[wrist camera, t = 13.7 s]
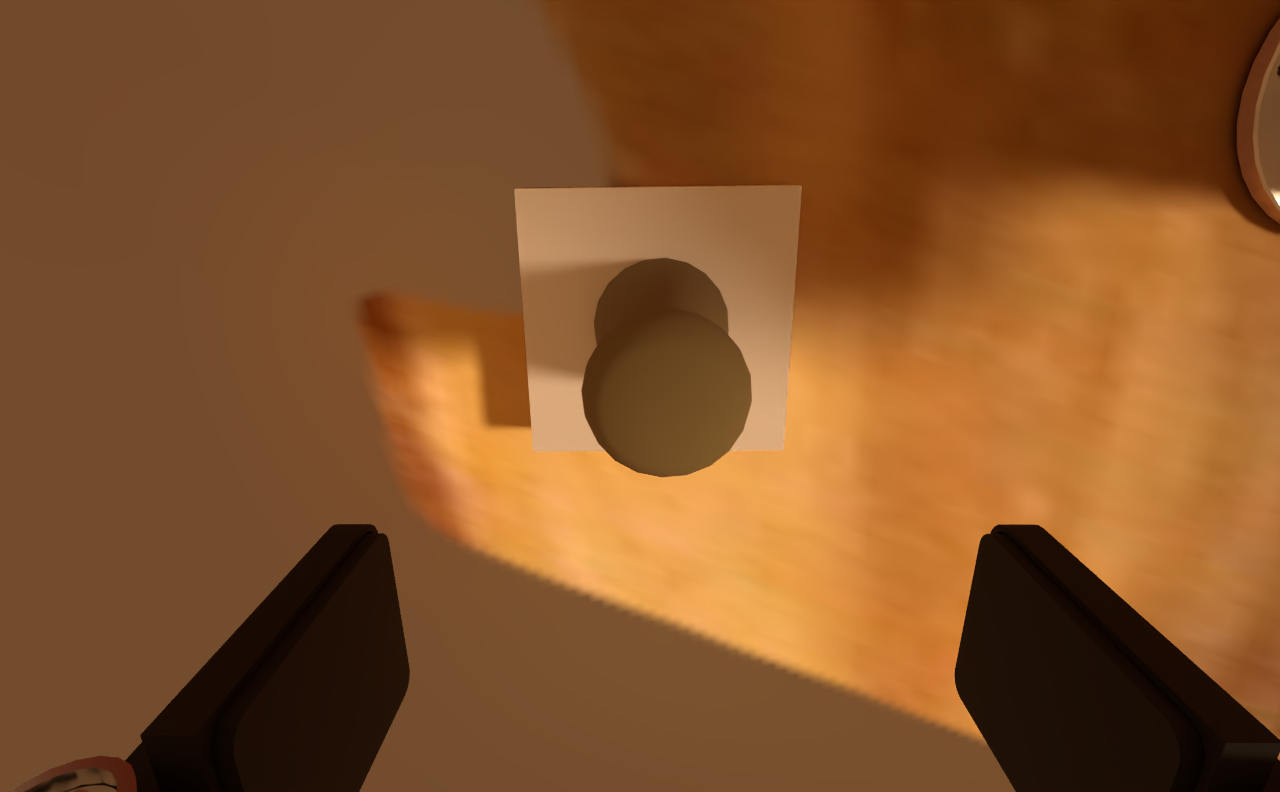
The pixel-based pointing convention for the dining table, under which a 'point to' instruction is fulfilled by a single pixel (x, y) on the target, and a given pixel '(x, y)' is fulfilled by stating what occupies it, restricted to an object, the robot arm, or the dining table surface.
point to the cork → (665, 371)
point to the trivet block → (640, 230)
